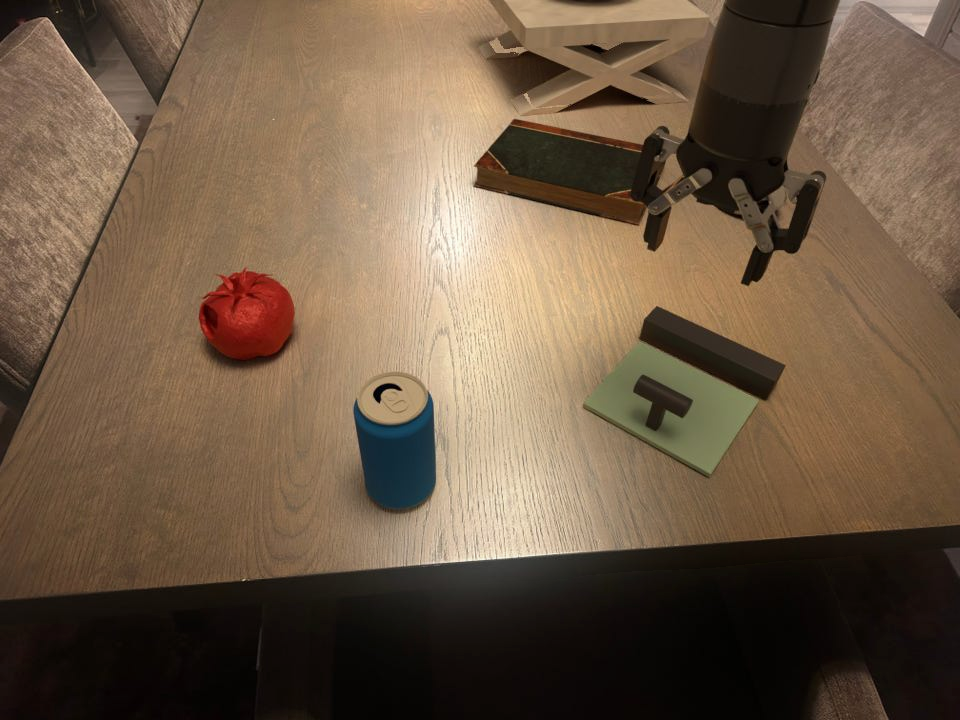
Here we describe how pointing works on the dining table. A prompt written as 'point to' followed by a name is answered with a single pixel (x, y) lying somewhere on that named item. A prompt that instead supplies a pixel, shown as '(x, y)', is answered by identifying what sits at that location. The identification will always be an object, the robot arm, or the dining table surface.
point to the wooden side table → (596, 20)
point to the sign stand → (712, 352)
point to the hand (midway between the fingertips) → (700, 263)
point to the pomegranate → (247, 315)
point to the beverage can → (396, 439)
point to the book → (564, 169)
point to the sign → (673, 407)
